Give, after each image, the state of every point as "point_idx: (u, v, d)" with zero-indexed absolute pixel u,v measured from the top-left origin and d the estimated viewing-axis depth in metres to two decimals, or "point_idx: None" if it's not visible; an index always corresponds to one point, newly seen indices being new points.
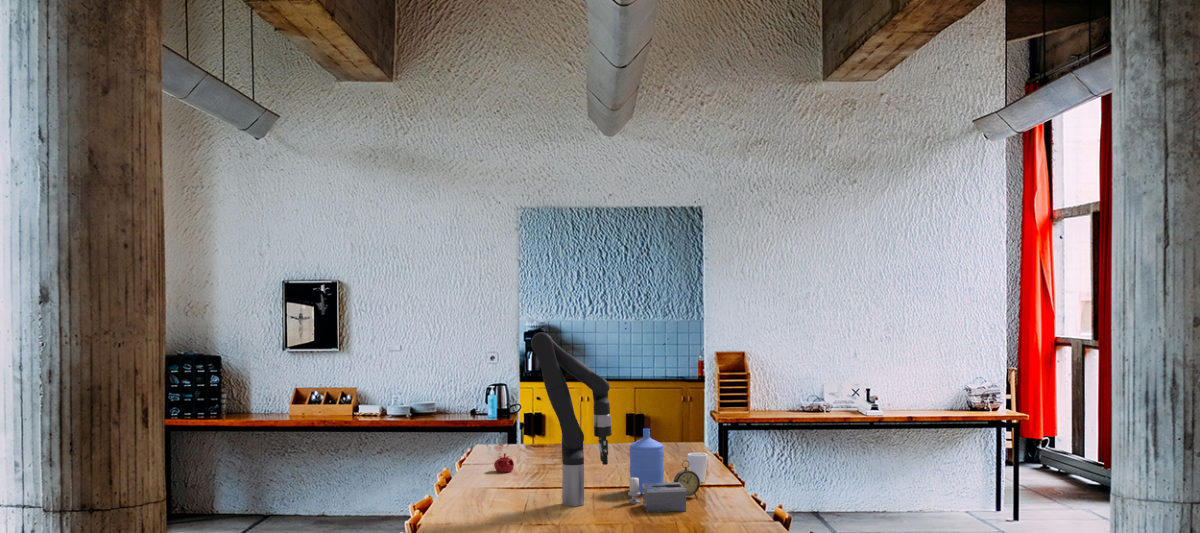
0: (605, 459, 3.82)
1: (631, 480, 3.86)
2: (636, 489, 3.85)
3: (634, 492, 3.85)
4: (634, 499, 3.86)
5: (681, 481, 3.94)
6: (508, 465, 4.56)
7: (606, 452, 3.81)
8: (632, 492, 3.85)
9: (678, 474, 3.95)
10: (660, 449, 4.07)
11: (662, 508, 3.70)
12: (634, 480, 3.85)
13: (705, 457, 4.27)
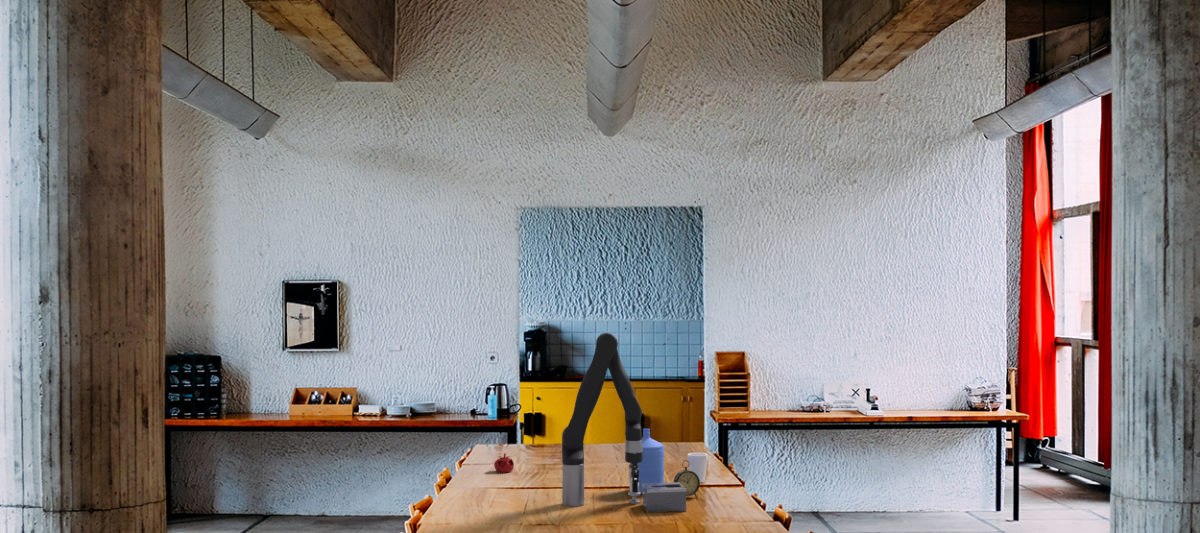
0: (635, 487, 3.84)
1: (631, 480, 3.86)
2: None
3: (634, 492, 3.85)
4: (634, 499, 3.86)
5: (681, 481, 3.94)
6: (508, 465, 4.56)
7: (636, 480, 3.82)
8: (632, 492, 3.85)
9: (678, 474, 3.95)
10: (660, 449, 4.07)
11: (662, 508, 3.70)
12: None
13: (705, 457, 4.27)
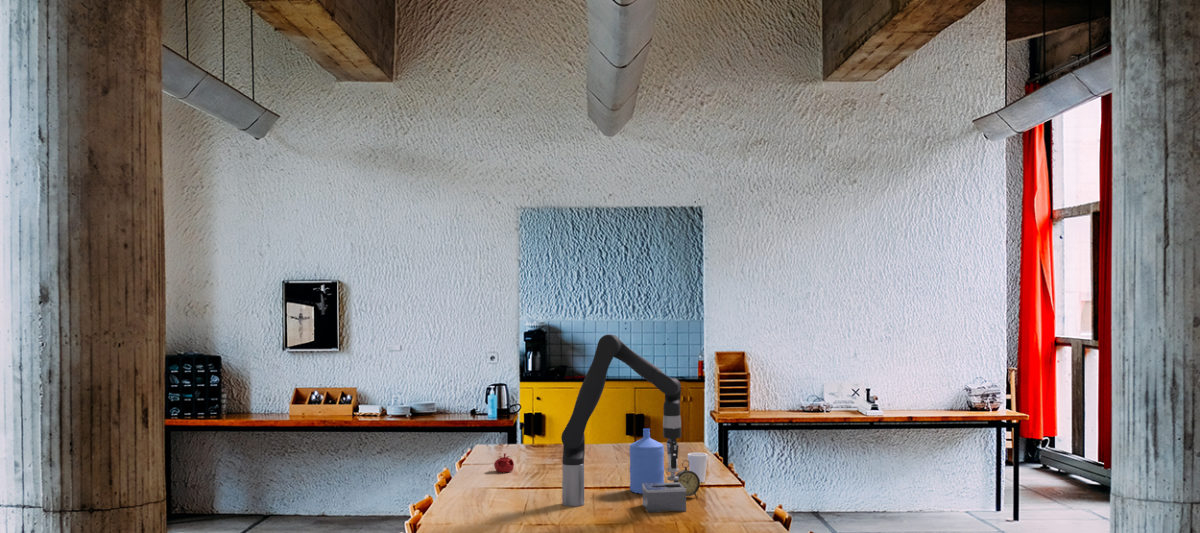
0: (674, 463, 3.75)
1: (670, 456, 3.77)
2: None
3: None
4: (673, 475, 3.77)
5: (681, 481, 3.94)
6: (508, 465, 4.56)
7: (675, 456, 3.73)
8: (671, 468, 3.76)
9: (678, 474, 3.95)
10: (660, 449, 4.07)
11: (662, 508, 3.70)
12: None
13: (705, 457, 4.27)
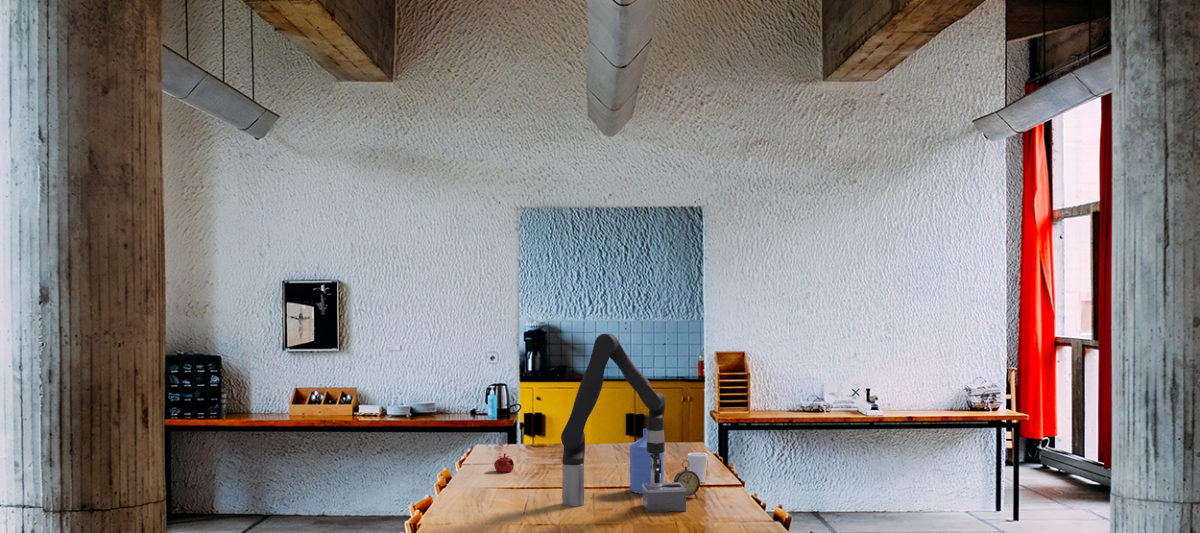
0: (657, 477, 3.73)
1: (653, 472, 3.76)
2: None
3: (656, 484, 3.75)
4: None
5: (681, 481, 3.94)
6: (508, 465, 4.56)
7: (659, 470, 3.72)
8: (654, 484, 3.75)
9: (678, 474, 3.95)
10: None
11: (662, 508, 3.70)
12: None
13: (705, 457, 4.27)
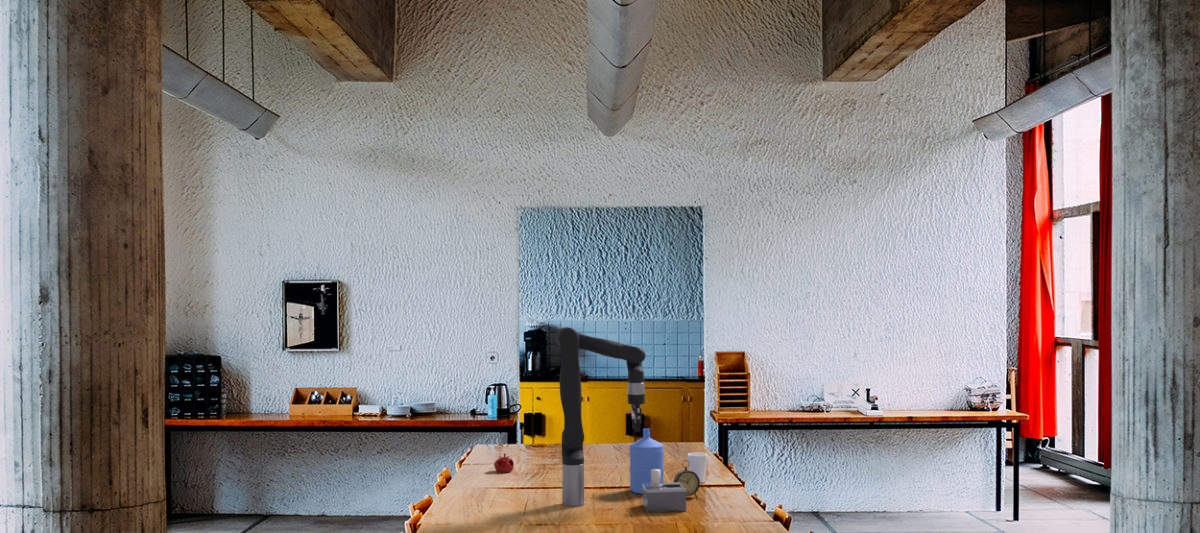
0: (638, 426, 3.88)
1: (653, 472, 3.76)
2: (658, 481, 3.75)
3: (656, 484, 3.75)
4: None
5: (681, 481, 3.94)
6: (508, 465, 4.56)
7: (639, 419, 3.86)
8: (654, 484, 3.75)
9: (678, 474, 3.95)
10: (660, 449, 4.07)
11: (662, 508, 3.70)
12: (656, 472, 3.75)
13: (705, 457, 4.27)
